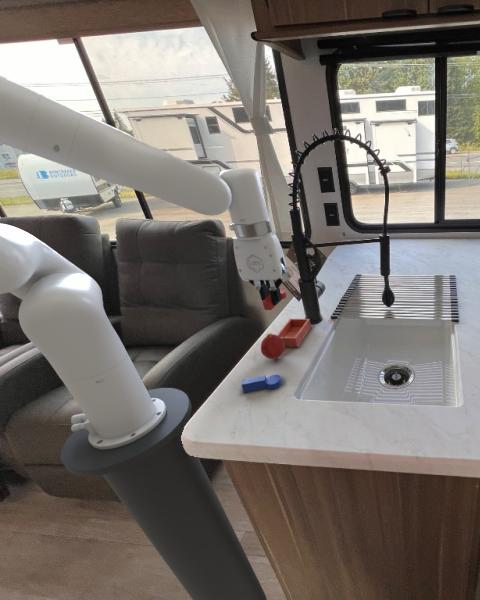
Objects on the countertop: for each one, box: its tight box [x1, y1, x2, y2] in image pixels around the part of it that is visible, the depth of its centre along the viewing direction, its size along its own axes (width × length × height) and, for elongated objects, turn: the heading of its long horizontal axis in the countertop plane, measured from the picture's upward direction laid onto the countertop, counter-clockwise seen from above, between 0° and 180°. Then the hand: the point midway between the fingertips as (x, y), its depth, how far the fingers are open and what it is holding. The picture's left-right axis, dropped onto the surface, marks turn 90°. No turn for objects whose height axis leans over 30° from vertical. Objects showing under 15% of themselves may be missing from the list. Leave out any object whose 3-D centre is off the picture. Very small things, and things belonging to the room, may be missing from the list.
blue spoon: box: [241, 374, 283, 394], centre depth 72 cm, size 8×3×2 cm, turn 106°
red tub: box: [276, 318, 312, 348], centre depth 90 cm, size 11×6×3 cm, turn 175°
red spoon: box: [261, 288, 288, 311], centre depth 78 cm, size 8×3×2 cm, turn 173°
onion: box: [260, 332, 286, 360], centre depth 80 cm, size 6×6×8 cm
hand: (272, 302), depth 77 cm, fingers closed on red spoon, 1 cm apart
